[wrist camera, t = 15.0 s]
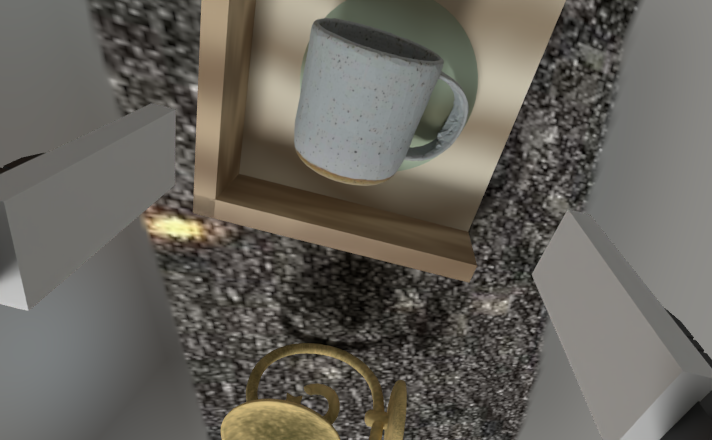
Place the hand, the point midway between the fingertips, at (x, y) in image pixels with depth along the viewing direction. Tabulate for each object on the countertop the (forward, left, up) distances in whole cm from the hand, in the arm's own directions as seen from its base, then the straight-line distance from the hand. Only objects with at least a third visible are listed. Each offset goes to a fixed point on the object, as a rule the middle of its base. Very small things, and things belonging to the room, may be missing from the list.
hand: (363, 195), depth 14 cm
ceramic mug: (0, 0, -17) cm, 17 cm away
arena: (0, -1, -18) cm, 18 cm away
